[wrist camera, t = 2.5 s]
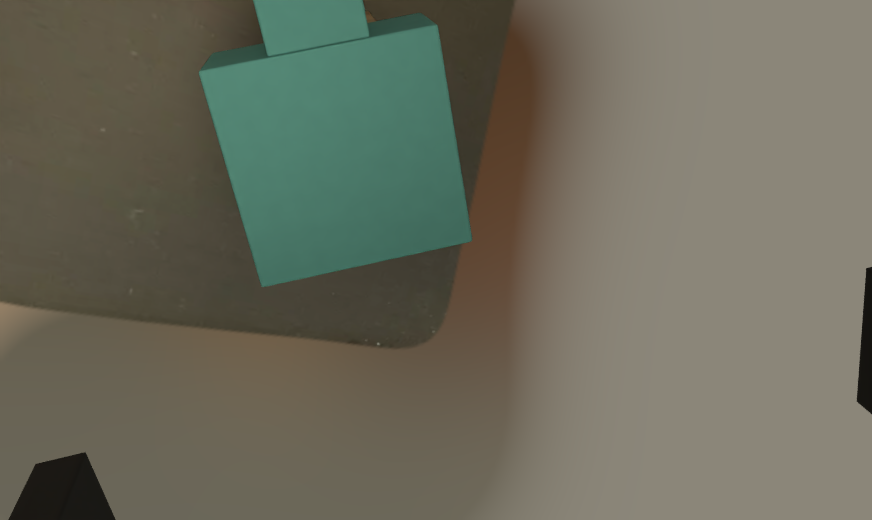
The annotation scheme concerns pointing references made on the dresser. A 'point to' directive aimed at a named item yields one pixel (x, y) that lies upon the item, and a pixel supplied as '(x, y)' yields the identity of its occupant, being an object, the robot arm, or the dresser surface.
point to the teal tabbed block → (337, 138)
